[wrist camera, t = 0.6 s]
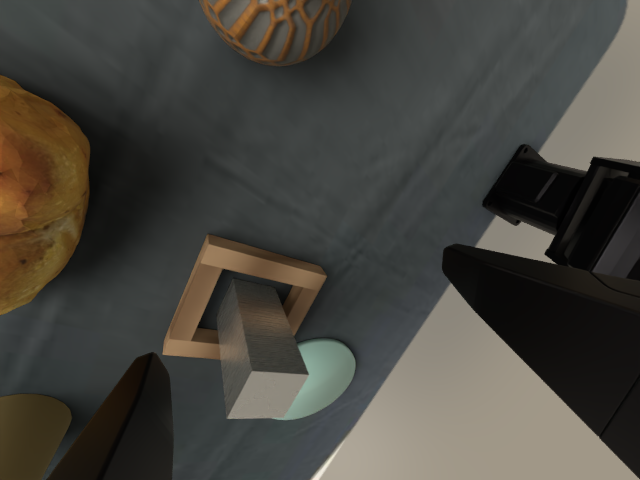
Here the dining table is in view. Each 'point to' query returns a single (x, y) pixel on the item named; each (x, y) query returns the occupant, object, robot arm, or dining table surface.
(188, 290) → the walnut collar
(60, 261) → the bread roll
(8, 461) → the wooden pepper shaker
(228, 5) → the vase
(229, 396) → the steel bar
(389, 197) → the dining table surface
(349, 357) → the teal coaster
